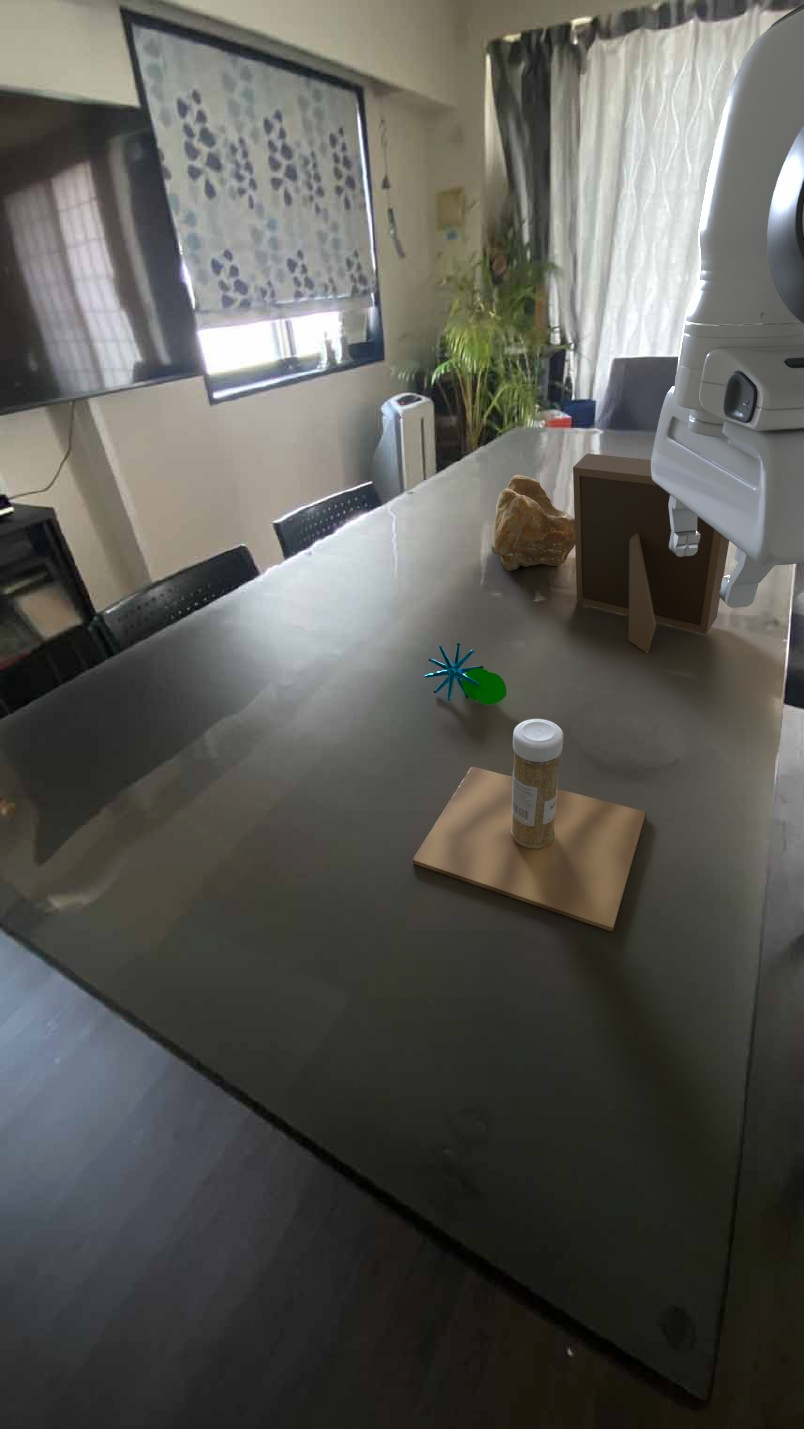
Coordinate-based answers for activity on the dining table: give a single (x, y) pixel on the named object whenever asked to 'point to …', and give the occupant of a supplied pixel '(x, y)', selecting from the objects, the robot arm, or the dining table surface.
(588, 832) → the wooden board
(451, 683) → the stick construction toy
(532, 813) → the sprinkles bottle
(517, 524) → the rough brown rock
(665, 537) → the photo frame
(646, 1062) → the dining table surface
